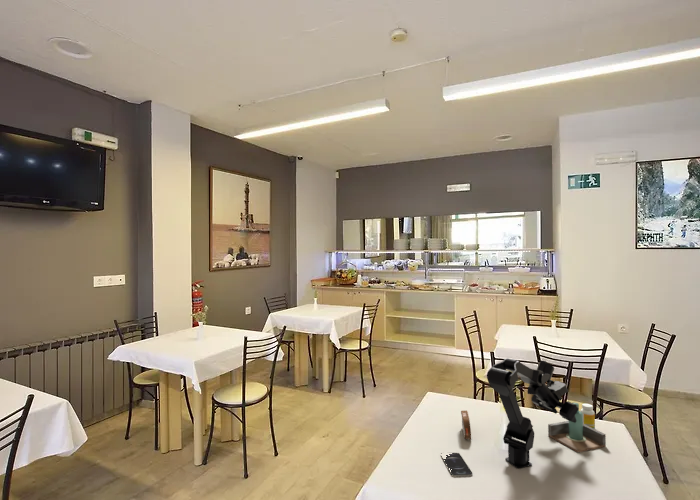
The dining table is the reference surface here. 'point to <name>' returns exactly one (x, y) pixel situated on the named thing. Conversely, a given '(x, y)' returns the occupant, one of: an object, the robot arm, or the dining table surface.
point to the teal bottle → (576, 426)
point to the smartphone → (457, 465)
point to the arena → (589, 442)
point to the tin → (466, 425)
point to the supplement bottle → (588, 415)
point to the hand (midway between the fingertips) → (565, 417)
